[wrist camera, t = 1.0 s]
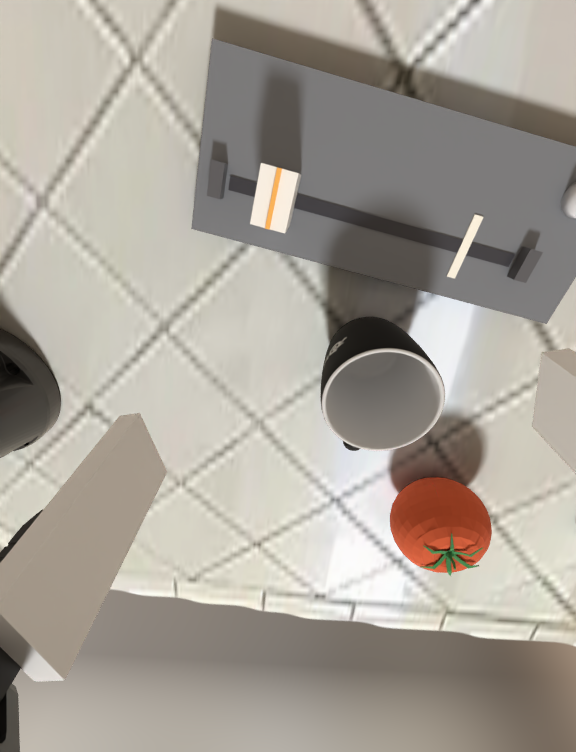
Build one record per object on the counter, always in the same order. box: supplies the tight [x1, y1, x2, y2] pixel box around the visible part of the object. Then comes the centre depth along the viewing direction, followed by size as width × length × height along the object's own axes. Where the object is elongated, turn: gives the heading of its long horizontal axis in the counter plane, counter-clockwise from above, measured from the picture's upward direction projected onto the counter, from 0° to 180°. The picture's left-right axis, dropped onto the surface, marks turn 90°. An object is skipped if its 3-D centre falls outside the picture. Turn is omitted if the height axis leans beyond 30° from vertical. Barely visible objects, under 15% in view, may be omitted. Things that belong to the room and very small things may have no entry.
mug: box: [321, 317, 445, 451], centre depth 32 cm, size 12×9×10 cm
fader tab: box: [250, 163, 301, 233], centre depth 25 cm, size 2×4×5 cm, turn 166°
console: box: [192, 38, 576, 324], centre depth 28 cm, size 31×12×4 cm, turn 76°
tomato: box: [390, 477, 492, 576], centre depth 39 cm, size 10×10×10 cm
